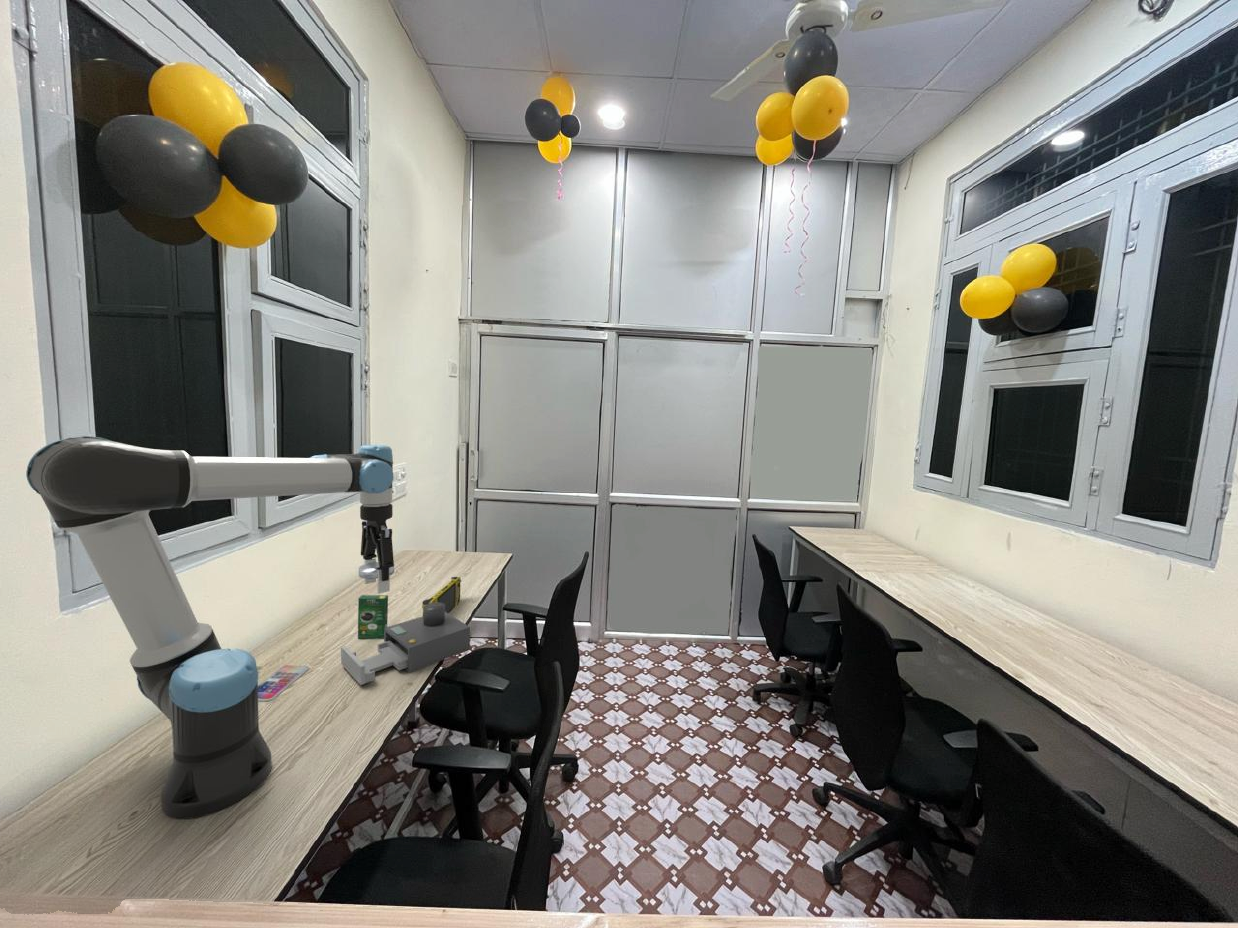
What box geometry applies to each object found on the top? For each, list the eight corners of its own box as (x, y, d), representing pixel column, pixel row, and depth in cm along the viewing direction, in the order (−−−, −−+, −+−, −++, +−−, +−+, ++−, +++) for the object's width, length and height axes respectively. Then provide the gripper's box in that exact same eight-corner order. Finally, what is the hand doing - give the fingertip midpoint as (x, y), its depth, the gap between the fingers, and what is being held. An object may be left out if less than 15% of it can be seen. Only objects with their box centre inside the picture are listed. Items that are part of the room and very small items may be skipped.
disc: (365, 581, 114) (365, 574, 114) (353, 572, 119) (353, 566, 119) (399, 573, 120) (399, 567, 120) (386, 566, 126) (386, 559, 125)
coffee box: (388, 634, 141) (388, 594, 140) (385, 638, 138) (385, 597, 137) (361, 635, 140) (360, 594, 139) (357, 639, 137) (357, 598, 136)
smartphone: (311, 665, 121) (271, 700, 106) (311, 669, 121) (271, 703, 106) (283, 664, 121) (238, 698, 106) (283, 667, 121) (238, 702, 106)
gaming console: (432, 632, 144) (433, 602, 143) (420, 632, 144) (420, 602, 143) (463, 601, 169) (464, 575, 168) (452, 600, 169) (452, 575, 168)
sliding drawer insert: (360, 685, 112) (360, 666, 112) (341, 663, 122) (340, 646, 121) (428, 659, 126) (428, 643, 125) (406, 641, 135) (406, 626, 134)
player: (409, 672, 121) (409, 630, 120) (384, 650, 131) (384, 611, 130) (469, 649, 134) (470, 610, 133) (442, 631, 145) (443, 595, 144)
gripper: (408, 508, 114) (408, 594, 116) (375, 496, 128) (375, 574, 130) (377, 512, 108) (377, 602, 110) (346, 499, 122) (347, 580, 124)
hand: (376, 587), depth 120 cm, fingers closed on disc, 8 cm apart
